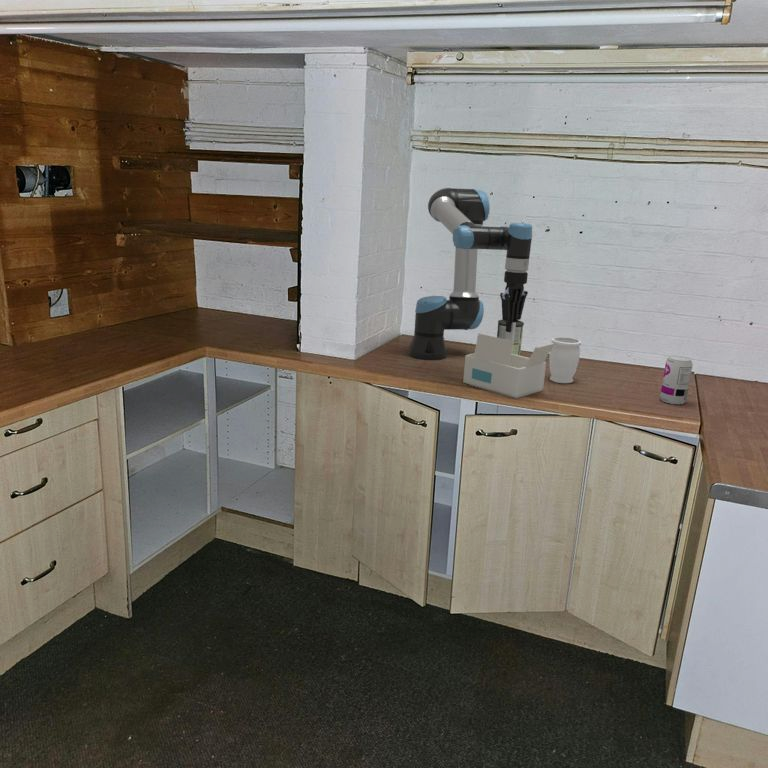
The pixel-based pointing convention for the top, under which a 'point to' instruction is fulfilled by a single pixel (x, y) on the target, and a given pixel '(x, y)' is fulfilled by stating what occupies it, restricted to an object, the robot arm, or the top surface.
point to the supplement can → (676, 380)
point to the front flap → (493, 349)
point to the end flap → (539, 355)
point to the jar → (564, 359)
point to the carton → (504, 376)
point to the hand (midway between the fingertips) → (509, 341)
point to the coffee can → (517, 338)
